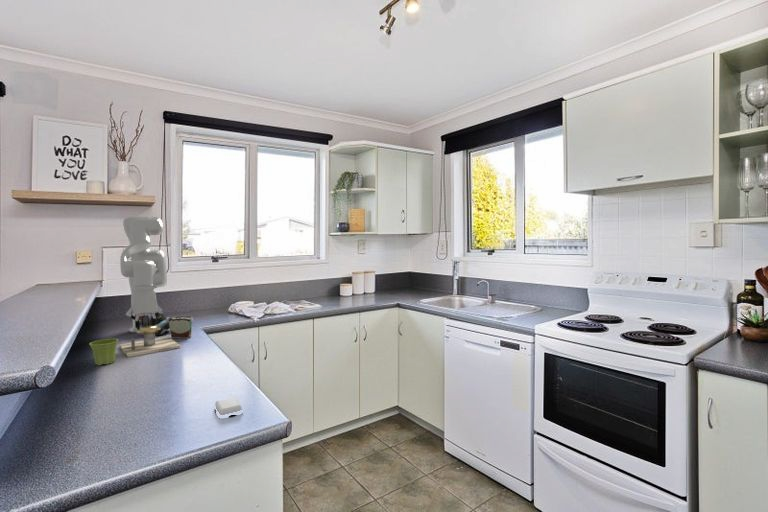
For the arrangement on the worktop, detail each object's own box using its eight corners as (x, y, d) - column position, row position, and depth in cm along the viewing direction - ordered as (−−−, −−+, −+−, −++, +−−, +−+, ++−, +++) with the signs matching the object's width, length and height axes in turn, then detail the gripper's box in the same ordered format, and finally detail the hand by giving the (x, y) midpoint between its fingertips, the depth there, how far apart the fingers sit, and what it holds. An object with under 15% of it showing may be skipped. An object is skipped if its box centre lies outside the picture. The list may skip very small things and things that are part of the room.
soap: (212, 409, 117) (212, 399, 117) (237, 404, 120) (236, 394, 120) (219, 421, 109) (218, 411, 109) (244, 415, 113) (244, 405, 113)
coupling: (133, 329, 185) (132, 316, 184) (155, 326, 191) (155, 313, 190) (138, 334, 175) (138, 320, 175) (161, 331, 181) (161, 317, 181)
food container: (199, 335, 203) (198, 315, 203) (192, 338, 197) (191, 317, 196) (175, 334, 204) (175, 315, 204) (168, 337, 198) (167, 317, 198)
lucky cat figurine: (157, 337, 199) (140, 313, 197) (144, 343, 205) (128, 320, 203) (181, 322, 212) (166, 300, 211) (168, 329, 218) (154, 307, 216)
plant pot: (85, 365, 158) (84, 343, 157) (111, 358, 166) (109, 337, 165) (98, 368, 153) (97, 346, 153) (124, 361, 162) (123, 340, 161)
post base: (119, 347, 182) (119, 331, 182) (168, 339, 195) (168, 324, 195) (127, 357, 167) (126, 340, 167) (180, 347, 180) (179, 332, 180)
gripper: (162, 286, 194) (164, 323, 195) (120, 289, 183) (122, 329, 184) (166, 287, 188) (168, 326, 189) (123, 291, 177) (125, 332, 178)
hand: (145, 327), depth 186 cm, fingers open, 5 cm apart
